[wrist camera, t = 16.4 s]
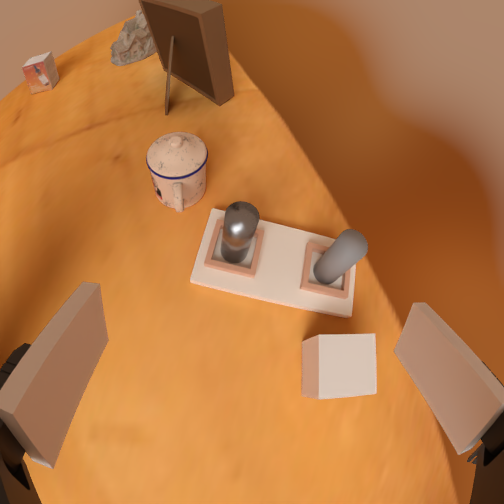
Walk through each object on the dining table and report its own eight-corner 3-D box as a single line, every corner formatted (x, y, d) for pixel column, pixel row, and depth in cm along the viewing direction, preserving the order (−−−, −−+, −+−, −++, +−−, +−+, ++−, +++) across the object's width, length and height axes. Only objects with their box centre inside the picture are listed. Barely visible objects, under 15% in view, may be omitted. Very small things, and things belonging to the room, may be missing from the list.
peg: (216, 258, 42) (220, 225, 33) (224, 234, 44) (230, 197, 35) (243, 266, 42) (254, 235, 33) (250, 242, 44) (262, 206, 35)
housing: (301, 396, 37) (318, 399, 31) (302, 341, 41) (318, 334, 34) (352, 392, 38) (376, 393, 32) (352, 340, 41) (375, 333, 35)
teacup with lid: (154, 170, 49) (145, 121, 39) (205, 165, 51) (206, 116, 40) (153, 229, 45) (139, 185, 34) (210, 224, 46) (211, 179, 36)
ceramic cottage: (145, 35, 71) (140, -2, 57) (168, 51, 68) (164, 9, 54) (101, 55, 66) (92, 17, 52) (119, 73, 63) (109, 30, 49)
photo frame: (177, 64, 64) (176, -18, 41) (233, 99, 60) (246, -1, 37) (128, 87, 58) (115, -1, 36) (180, 127, 54) (174, 16, 31)
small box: (31, 95, 56) (20, 67, 46) (39, 83, 58) (30, 57, 48) (52, 89, 57) (43, 60, 47) (60, 78, 59) (51, 50, 50)
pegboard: (190, 282, 42) (184, 250, 31) (211, 212, 47) (213, 166, 37) (347, 318, 43) (386, 298, 32) (353, 248, 48) (386, 214, 37)
